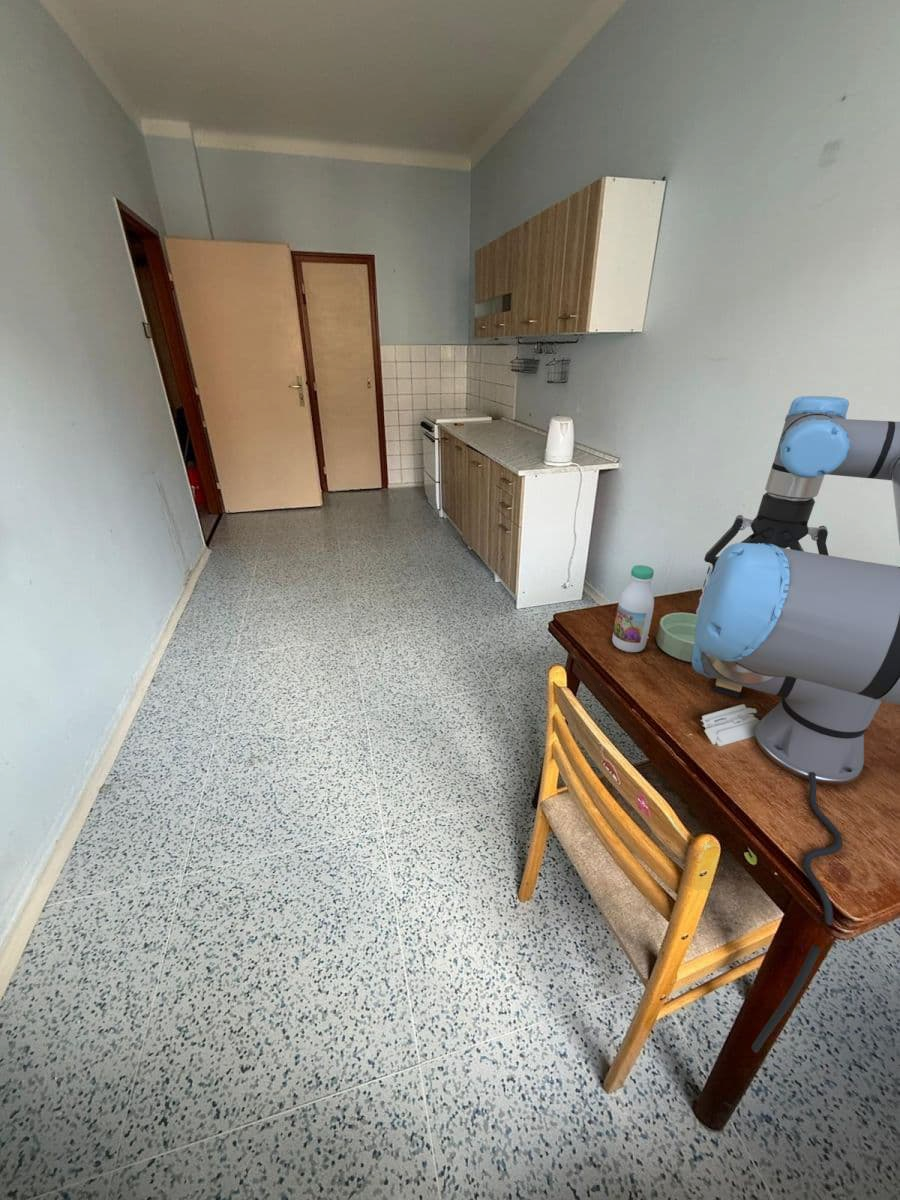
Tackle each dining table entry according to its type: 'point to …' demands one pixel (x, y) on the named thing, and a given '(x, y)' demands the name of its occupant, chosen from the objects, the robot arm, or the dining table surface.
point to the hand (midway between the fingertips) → (753, 604)
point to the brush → (727, 688)
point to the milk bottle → (634, 611)
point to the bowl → (677, 635)
